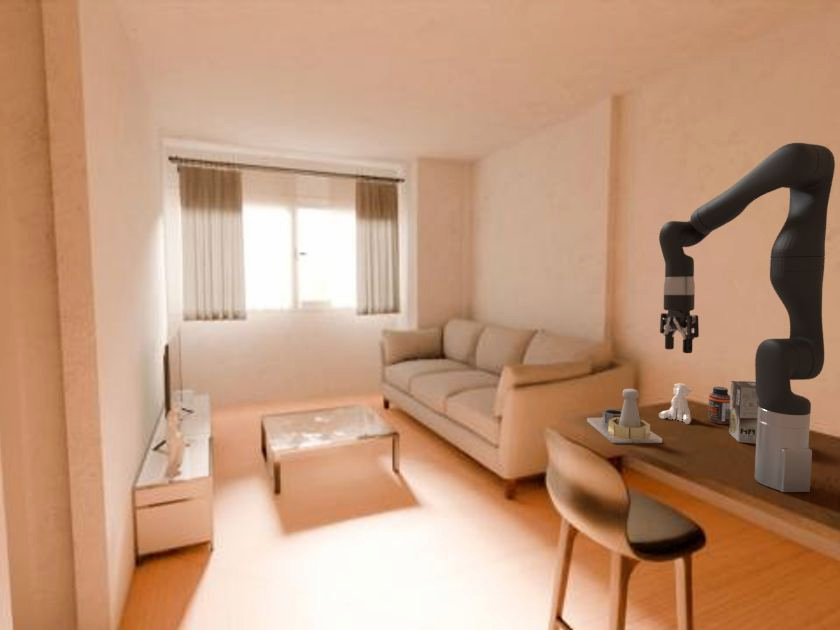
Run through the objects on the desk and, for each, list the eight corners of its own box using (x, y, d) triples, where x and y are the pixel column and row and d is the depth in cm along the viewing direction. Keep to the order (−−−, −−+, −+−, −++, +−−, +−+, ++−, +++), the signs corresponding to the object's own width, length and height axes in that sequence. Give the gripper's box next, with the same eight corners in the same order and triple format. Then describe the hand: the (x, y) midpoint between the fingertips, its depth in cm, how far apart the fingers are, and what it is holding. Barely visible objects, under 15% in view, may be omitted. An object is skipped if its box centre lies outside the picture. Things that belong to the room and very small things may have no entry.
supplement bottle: (703, 420, 150) (704, 386, 149) (717, 418, 152) (718, 385, 151) (720, 425, 144) (721, 390, 143) (734, 423, 146) (736, 389, 145)
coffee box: (764, 445, 128) (767, 388, 126) (737, 442, 130) (740, 386, 128) (752, 434, 136) (755, 381, 135) (727, 432, 138) (730, 379, 137)
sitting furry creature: (657, 418, 152) (659, 383, 151) (667, 413, 158) (668, 379, 157) (689, 424, 145) (690, 387, 144) (698, 419, 151) (699, 383, 150)
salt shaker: (642, 436, 132) (643, 392, 131) (621, 435, 133) (622, 391, 132) (637, 429, 137) (638, 387, 136) (616, 428, 139) (618, 386, 137)
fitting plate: (662, 442, 130) (662, 428, 130) (612, 443, 130) (613, 428, 130) (629, 420, 150) (630, 408, 149) (587, 421, 150) (587, 408, 149)
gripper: (709, 293, 120) (707, 354, 121) (677, 293, 135) (676, 347, 135) (681, 293, 120) (680, 354, 121) (652, 293, 134) (651, 348, 135)
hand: (678, 351), depth 128 cm, fingers open, 8 cm apart
